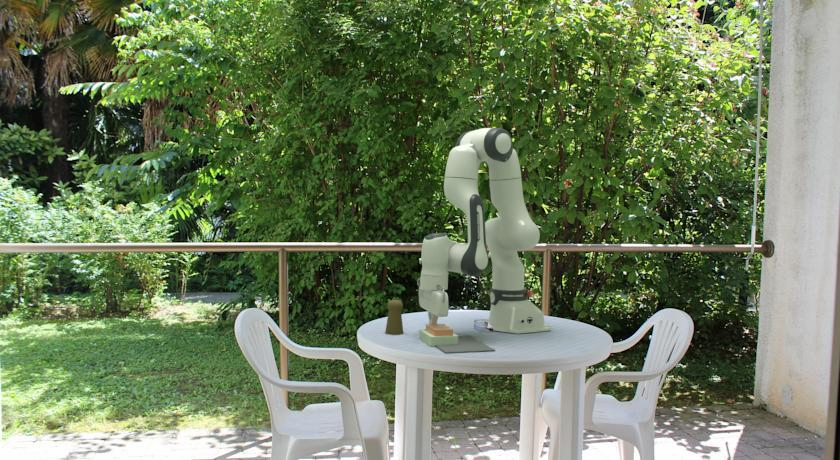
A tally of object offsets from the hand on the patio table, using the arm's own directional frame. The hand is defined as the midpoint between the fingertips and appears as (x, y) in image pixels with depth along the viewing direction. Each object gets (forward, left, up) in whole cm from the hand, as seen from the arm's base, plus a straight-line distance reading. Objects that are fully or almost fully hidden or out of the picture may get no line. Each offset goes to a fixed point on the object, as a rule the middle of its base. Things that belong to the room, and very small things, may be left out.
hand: (432, 325), depth 233 cm
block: (0, +6, -1) cm, 6 cm away
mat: (-5, +10, -4) cm, 12 cm away
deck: (0, +5, -4) cm, 7 cm away
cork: (+10, -11, -4) cm, 15 cm away
